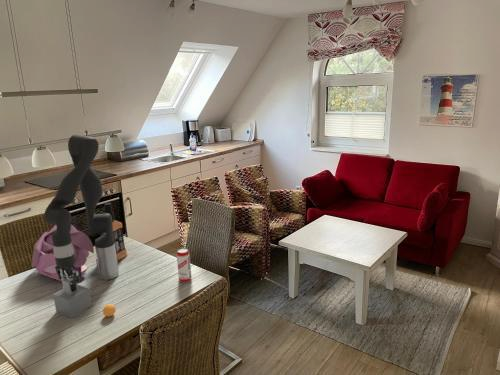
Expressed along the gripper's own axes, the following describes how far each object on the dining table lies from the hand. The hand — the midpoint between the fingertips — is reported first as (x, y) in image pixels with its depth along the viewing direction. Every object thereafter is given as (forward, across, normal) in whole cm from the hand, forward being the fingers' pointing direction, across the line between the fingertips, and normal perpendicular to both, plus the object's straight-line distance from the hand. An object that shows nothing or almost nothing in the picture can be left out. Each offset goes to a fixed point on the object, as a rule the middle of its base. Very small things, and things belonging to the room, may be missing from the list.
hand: (70, 289), depth 164 cm
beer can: (+10, +28, +42) cm, 51 cm away
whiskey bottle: (+10, -24, +44) cm, 51 cm away
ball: (+7, +18, +4) cm, 20 cm away
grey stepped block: (+10, 0, 0) cm, 10 cm away
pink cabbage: (+10, -33, +20) cm, 40 cm away
